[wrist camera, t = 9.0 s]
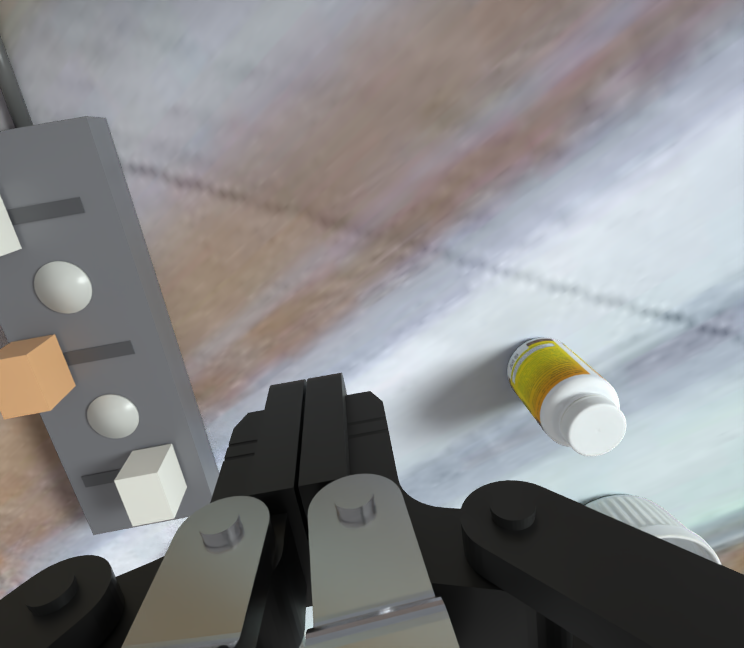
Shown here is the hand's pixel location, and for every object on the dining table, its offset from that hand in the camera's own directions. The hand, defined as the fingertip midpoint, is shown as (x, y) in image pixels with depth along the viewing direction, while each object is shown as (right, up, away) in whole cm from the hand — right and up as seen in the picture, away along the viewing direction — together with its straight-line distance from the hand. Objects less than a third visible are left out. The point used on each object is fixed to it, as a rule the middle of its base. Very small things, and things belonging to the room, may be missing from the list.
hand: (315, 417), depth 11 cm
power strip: (-20, +6, +27) cm, 34 cm away
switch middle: (-22, -1, +25) cm, 33 cm away
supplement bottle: (+15, -1, +32) cm, 36 cm away
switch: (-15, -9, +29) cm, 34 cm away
